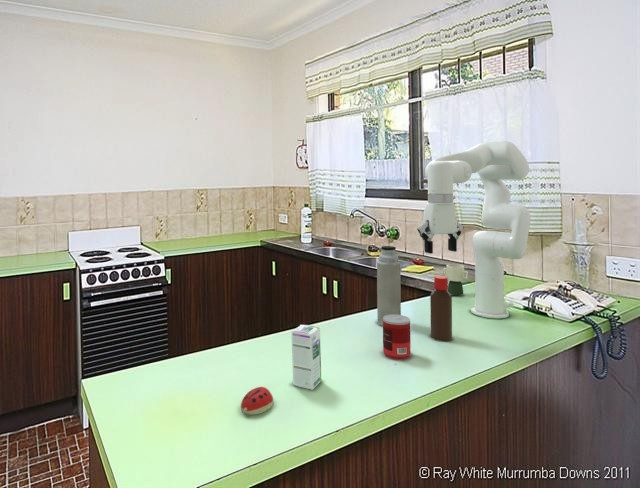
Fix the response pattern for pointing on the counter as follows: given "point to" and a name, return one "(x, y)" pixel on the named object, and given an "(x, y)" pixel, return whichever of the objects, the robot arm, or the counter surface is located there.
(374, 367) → the counter surface
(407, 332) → the canned food
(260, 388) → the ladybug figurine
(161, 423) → the counter surface
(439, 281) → the cap
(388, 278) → the thermos bottle
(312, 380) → the syrup box
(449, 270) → the character mug
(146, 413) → the counter surface
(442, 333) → the bottle
